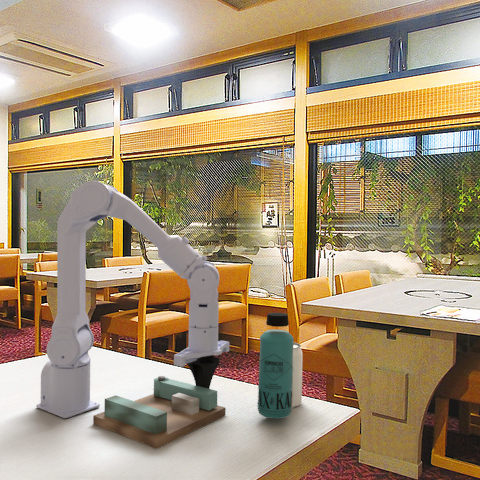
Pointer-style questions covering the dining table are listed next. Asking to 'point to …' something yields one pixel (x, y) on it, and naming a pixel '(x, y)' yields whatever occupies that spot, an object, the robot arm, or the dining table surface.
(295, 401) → the can
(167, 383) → the folding leg
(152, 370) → the dining table surface
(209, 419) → the wooden board
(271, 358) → the beverage bottle
